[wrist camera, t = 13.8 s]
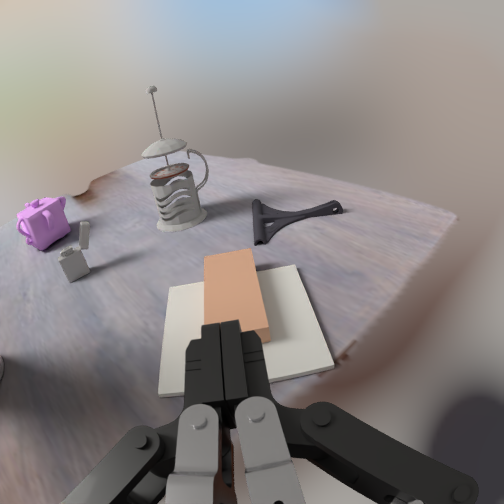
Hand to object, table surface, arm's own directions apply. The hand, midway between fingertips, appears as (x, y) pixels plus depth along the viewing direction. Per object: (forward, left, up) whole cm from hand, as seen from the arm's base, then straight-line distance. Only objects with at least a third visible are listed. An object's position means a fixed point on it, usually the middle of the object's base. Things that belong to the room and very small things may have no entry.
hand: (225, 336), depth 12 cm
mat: (+4, +14, -14) cm, 21 cm away
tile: (+3, +11, -13) cm, 17 cm away
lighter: (-12, +39, -15) cm, 43 cm away
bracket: (+23, +30, -15) cm, 41 cm away
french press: (+8, +45, -15) cm, 48 cm away
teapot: (-22, +62, -15) cm, 67 cm away
